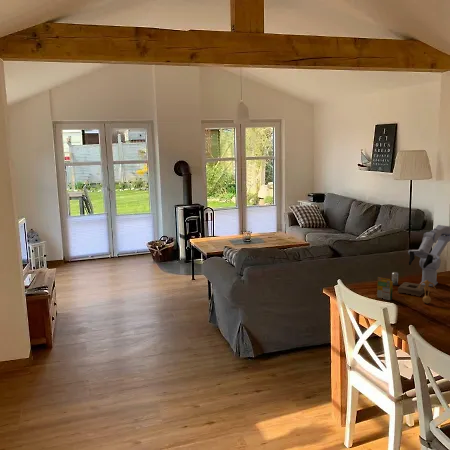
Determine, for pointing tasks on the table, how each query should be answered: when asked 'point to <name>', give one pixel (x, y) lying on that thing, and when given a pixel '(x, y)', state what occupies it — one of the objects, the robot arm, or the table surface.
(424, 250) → the robot arm
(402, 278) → the table surface
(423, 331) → the table surface
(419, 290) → the hole block
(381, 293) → the crayon box
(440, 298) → the table surface
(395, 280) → the metal peg
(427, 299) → the figurine
